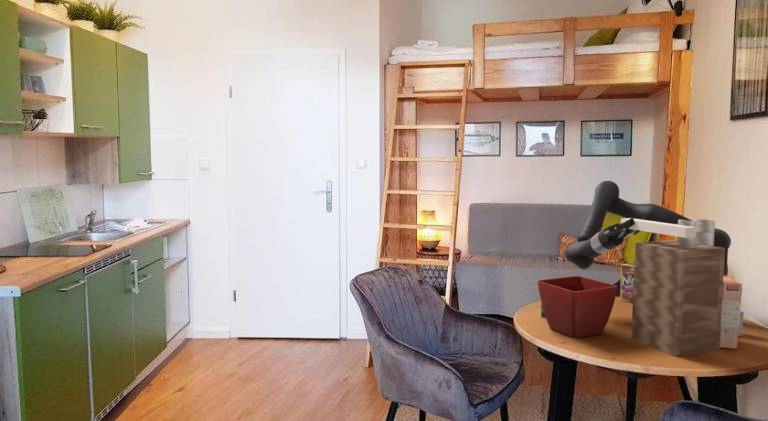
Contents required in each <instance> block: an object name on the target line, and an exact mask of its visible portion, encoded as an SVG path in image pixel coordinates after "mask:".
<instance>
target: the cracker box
mask: <svg viewBox="0 0 768 421" xmlns="http://www.w3.org/2000/svg"><path fill="white" fill-rule="evenodd" d="M742 291H743V284H742V283H740V282H738V281H736V280H734V279H731V278H730V277H726V276H723V292H722V308H721V325H720V342H719V349H720V348H721V349H731V350H732V349H733V350H737V349H739V348H738V346H739V336H738V334H739V321H740V309H741V306H742V305H741V304H742Z"/></svg>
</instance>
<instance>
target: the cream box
mask: <svg viewBox="0 0 768 421" xmlns="http://www.w3.org/2000/svg"><path fill="white" fill-rule="evenodd" d="M629 219H631V218H625V217H623V218H621V219H620V224H621V223H622V222H626V221H627V220H629ZM634 222H635V224H634V225H633V226H631V227H629V228H627V229H634V230H640V232H646V233H647V232H648V233H653V234H660V235H666V236H672V237H676V238H677V237H684V238H689V237H696V228H697V227H692V226H684V225H677V224H670V223H662V222H655V221H648V220H640V219H634Z"/></svg>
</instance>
